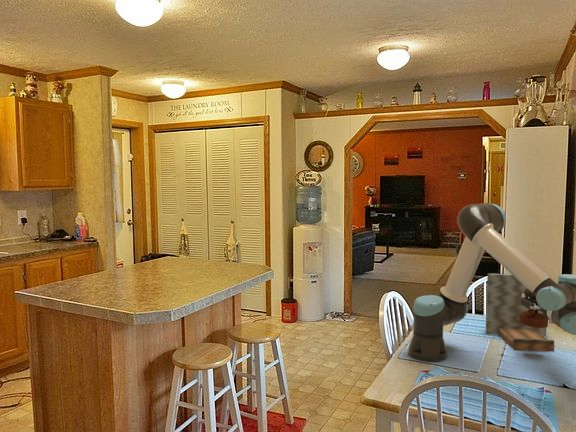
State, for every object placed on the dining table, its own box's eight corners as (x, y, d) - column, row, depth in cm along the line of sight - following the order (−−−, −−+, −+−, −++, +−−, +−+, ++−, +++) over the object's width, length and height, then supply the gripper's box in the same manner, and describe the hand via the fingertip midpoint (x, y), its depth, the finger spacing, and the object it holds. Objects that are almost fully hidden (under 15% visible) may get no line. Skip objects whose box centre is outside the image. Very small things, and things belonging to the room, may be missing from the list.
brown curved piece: (547, 331, 182) (548, 280, 180) (516, 327, 188) (517, 277, 186) (551, 321, 195) (551, 273, 193) (521, 317, 201) (522, 271, 199)
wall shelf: (501, 349, 197) (503, 283, 195) (485, 332, 219) (487, 273, 217) (566, 352, 194) (570, 285, 192) (544, 335, 216) (546, 275, 214)
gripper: (527, 321, 172) (506, 305, 195) (586, 323, 169) (559, 307, 192) (527, 301, 172) (507, 287, 194) (587, 303, 169) (559, 289, 192)
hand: (533, 297), depth 193 cm, fingers closed on brown curved piece, 7 cm apart
